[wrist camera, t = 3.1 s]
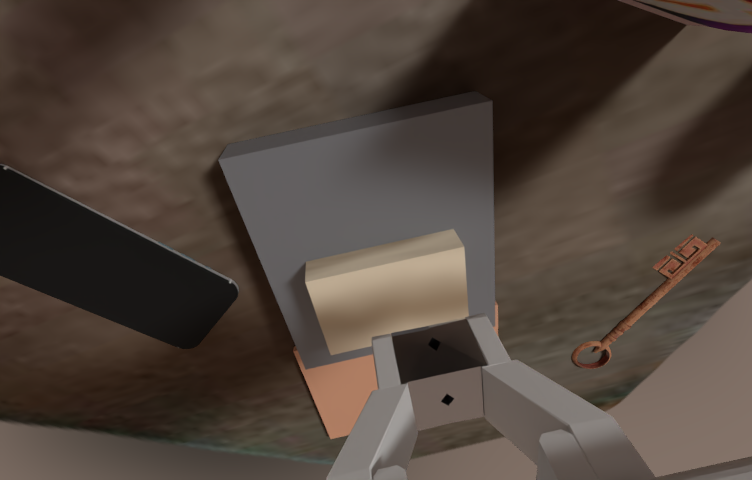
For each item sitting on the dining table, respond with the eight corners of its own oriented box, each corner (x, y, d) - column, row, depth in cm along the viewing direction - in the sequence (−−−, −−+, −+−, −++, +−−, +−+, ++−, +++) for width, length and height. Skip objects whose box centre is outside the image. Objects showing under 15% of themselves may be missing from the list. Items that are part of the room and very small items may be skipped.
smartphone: (-19, 155, 20) (244, 288, 26) (-9, 150, 20) (246, 282, 27) (-60, 252, 22) (191, 354, 28) (-50, 246, 23) (193, 347, 29)
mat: (293, 346, 30) (293, 351, 29) (495, 300, 30) (497, 305, 30) (330, 434, 36) (330, 439, 36) (496, 395, 37) (498, 400, 36)
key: (679, 215, 29) (546, 348, 35) (688, 221, 28) (551, 356, 34) (726, 247, 31) (591, 369, 37) (736, 253, 30) (597, 376, 36)
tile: (305, 261, 23) (304, 282, 21) (453, 228, 23) (464, 246, 21) (329, 332, 26) (330, 355, 24) (459, 303, 26) (469, 323, 25)
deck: (227, 144, 21) (218, 160, 19) (475, 90, 22) (492, 100, 19) (306, 343, 30) (305, 369, 28) (482, 303, 30) (495, 326, 28)
